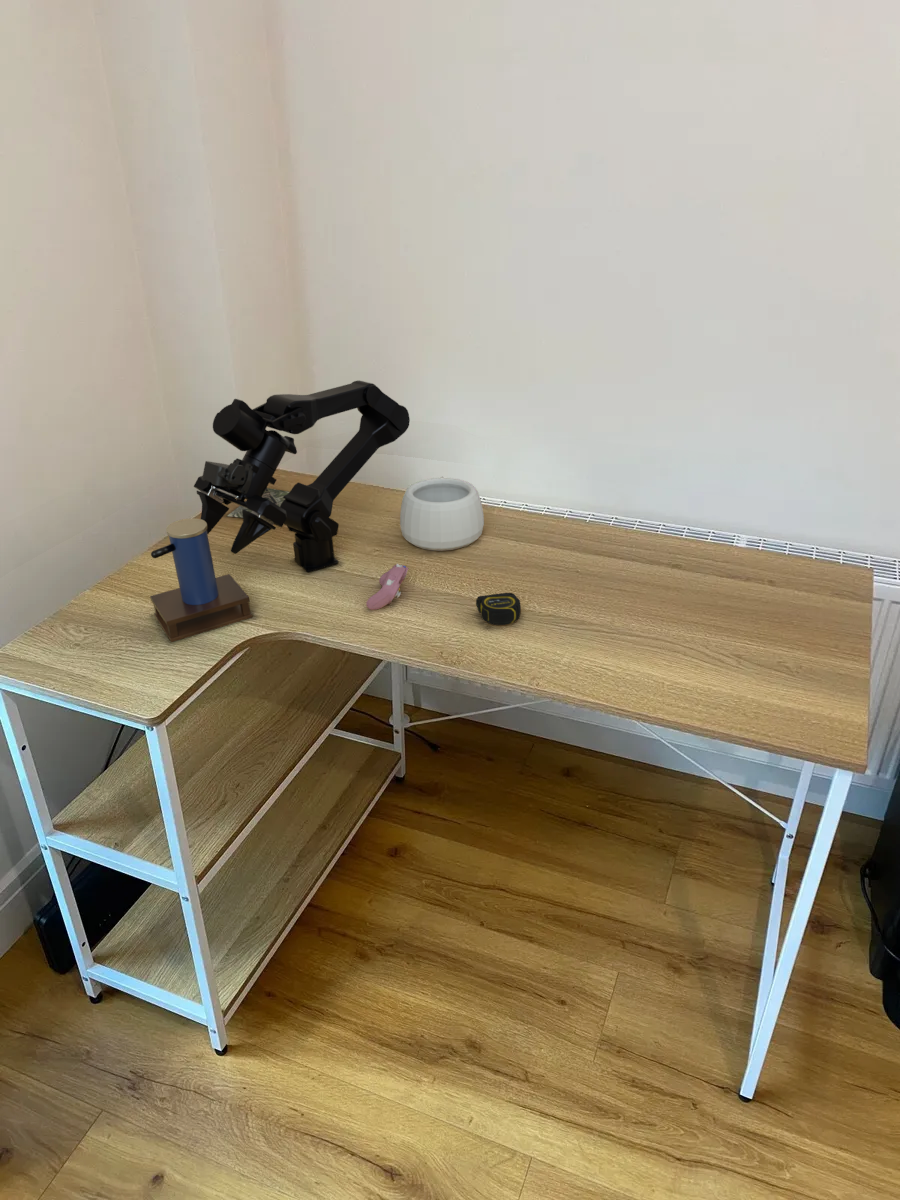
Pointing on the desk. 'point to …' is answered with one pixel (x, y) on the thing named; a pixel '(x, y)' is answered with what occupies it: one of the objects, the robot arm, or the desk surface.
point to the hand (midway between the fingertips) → (216, 545)
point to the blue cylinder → (191, 560)
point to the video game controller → (388, 587)
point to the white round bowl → (441, 514)
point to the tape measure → (499, 608)
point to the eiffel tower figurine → (269, 494)
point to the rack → (201, 610)
